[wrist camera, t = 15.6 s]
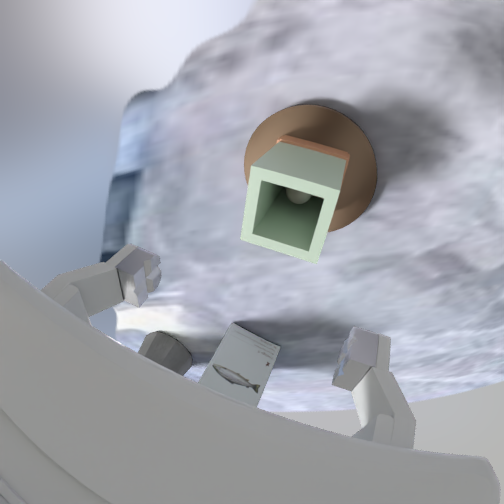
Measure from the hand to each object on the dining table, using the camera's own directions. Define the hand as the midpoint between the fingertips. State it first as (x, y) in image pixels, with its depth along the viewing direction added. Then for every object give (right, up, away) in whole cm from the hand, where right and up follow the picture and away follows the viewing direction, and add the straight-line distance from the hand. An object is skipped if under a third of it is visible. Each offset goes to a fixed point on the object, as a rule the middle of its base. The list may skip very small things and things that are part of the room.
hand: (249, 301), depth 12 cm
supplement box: (0, -11, +29) cm, 31 cm away
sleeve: (+5, +8, +12) cm, 15 cm away
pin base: (+5, +9, +13) cm, 16 cm away
